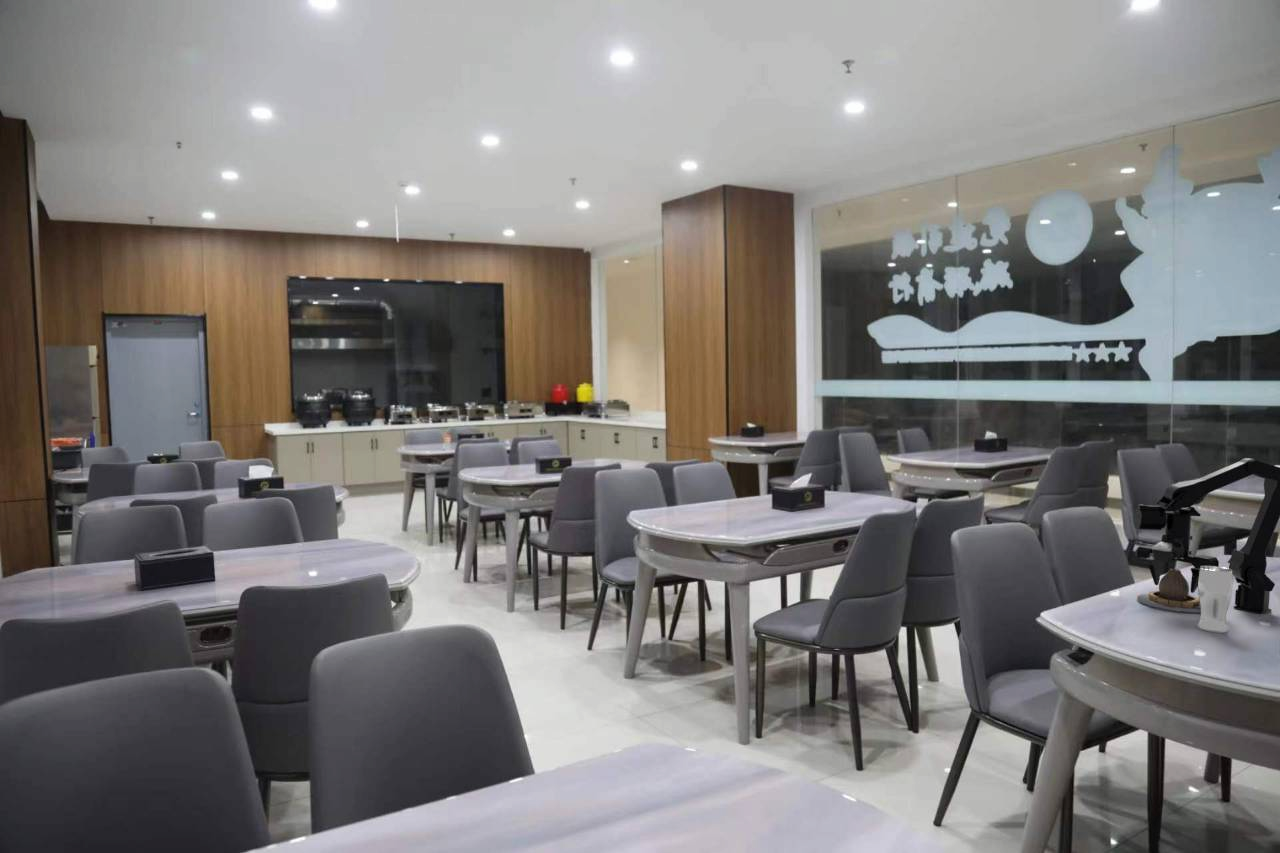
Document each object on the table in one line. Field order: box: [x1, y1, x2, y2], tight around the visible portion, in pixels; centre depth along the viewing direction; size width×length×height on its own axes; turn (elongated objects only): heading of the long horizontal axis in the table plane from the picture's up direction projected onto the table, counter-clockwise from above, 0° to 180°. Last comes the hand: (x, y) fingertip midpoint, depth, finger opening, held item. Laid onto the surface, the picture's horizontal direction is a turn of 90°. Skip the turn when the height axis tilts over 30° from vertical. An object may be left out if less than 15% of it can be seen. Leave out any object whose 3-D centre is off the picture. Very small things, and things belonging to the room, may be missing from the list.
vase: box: [1158, 568, 1190, 601], centre depth 231 cm, size 7×7×9 cm
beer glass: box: [1197, 566, 1234, 634], centre depth 208 cm, size 7×7×15 cm
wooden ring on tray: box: [1136, 590, 1200, 614], centre depth 231 cm, size 17×17×2 cm
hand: (1174, 588), depth 231 cm, fingers open, 9 cm apart
